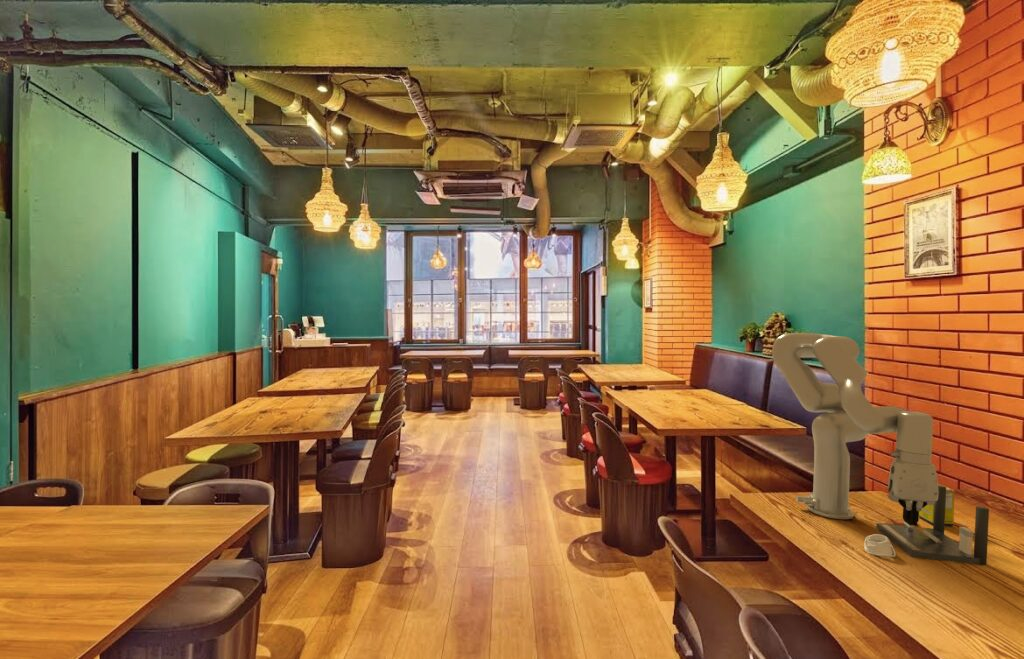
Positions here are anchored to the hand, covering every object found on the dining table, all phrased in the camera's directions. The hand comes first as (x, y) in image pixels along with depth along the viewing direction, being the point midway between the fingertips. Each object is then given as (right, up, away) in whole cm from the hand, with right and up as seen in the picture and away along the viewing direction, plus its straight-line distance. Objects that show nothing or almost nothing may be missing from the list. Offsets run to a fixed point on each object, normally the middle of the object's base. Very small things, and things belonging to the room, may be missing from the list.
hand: (910, 523), depth 135 cm
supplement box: (+20, -6, +15) cm, 26 cm away
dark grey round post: (+11, -6, -2) cm, 13 cm away
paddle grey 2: (+7, -4, -9) cm, 12 cm away
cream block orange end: (+6, -4, -1) cm, 8 cm away
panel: (+3, -6, -1) cm, 7 cm away
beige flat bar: (+5, -4, +7) cm, 9 cm away
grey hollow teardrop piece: (-13, -6, -6) cm, 15 cm away
